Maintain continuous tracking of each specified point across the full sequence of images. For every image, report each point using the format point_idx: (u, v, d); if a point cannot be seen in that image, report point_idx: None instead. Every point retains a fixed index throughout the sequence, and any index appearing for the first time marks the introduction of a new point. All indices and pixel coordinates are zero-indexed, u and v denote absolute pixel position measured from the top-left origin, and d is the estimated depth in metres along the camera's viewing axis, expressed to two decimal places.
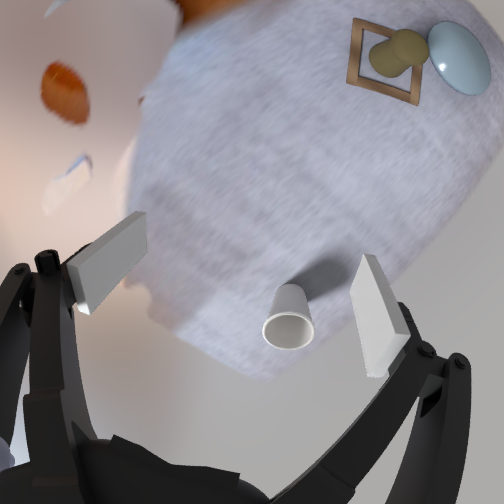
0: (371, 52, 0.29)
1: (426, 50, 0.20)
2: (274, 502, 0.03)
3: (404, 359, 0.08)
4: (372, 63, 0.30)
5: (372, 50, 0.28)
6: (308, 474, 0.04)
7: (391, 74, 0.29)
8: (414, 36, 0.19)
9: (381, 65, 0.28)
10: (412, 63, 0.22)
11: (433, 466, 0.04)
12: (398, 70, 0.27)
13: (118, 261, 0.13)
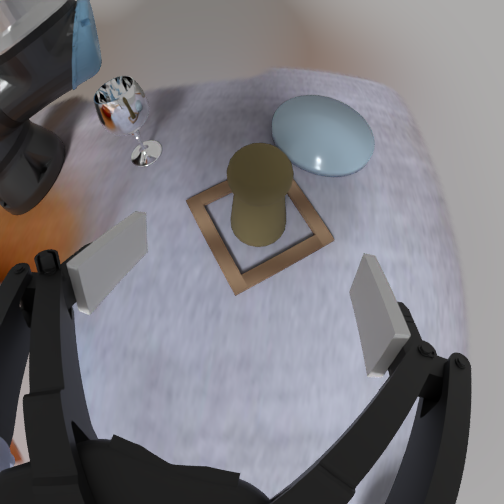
0: (233, 227, 0.28)
1: (281, 154, 0.20)
2: (274, 502, 0.03)
3: (404, 359, 0.08)
4: (245, 241, 0.28)
5: (232, 224, 0.28)
6: (308, 474, 0.04)
7: (275, 233, 0.27)
8: (251, 151, 0.19)
9: (253, 234, 0.26)
10: (280, 193, 0.20)
11: (433, 466, 0.04)
12: (277, 221, 0.25)
13: (118, 261, 0.13)
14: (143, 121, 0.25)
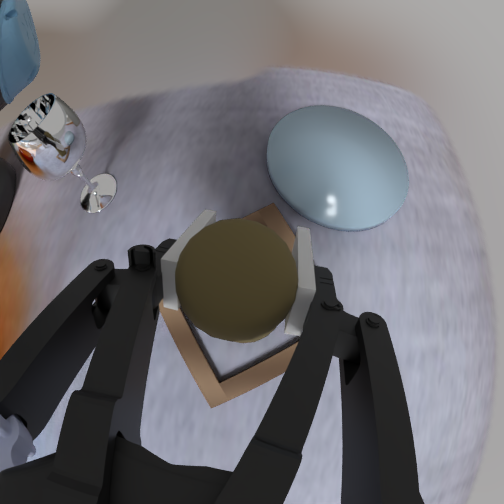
0: None
1: (275, 250, 0.10)
2: (225, 486, 0.04)
3: (309, 317, 0.09)
4: None
5: None
6: (246, 450, 0.05)
7: (267, 332, 0.18)
8: (216, 245, 0.10)
9: None
10: (271, 328, 0.10)
11: (374, 436, 0.05)
12: None
13: None
14: (76, 159, 0.16)
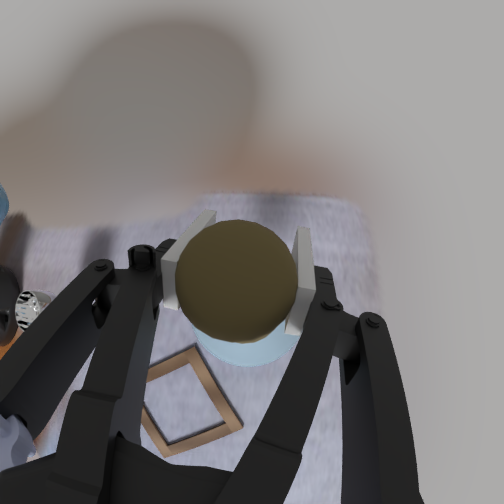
0: None
1: (275, 252, 0.10)
2: (225, 486, 0.04)
3: (309, 317, 0.09)
4: None
5: None
6: (246, 450, 0.05)
7: None
8: (215, 246, 0.10)
9: None
10: (271, 329, 0.10)
11: (374, 436, 0.05)
12: None
13: None
14: None
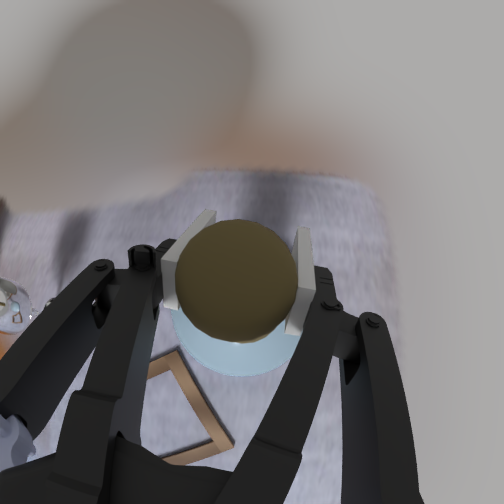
0: None
1: (275, 251, 0.10)
2: (226, 486, 0.04)
3: (309, 317, 0.09)
4: None
5: None
6: (246, 450, 0.05)
7: None
8: (215, 246, 0.10)
9: None
10: (271, 329, 0.10)
11: (375, 436, 0.05)
12: None
13: None
14: (27, 323, 0.19)
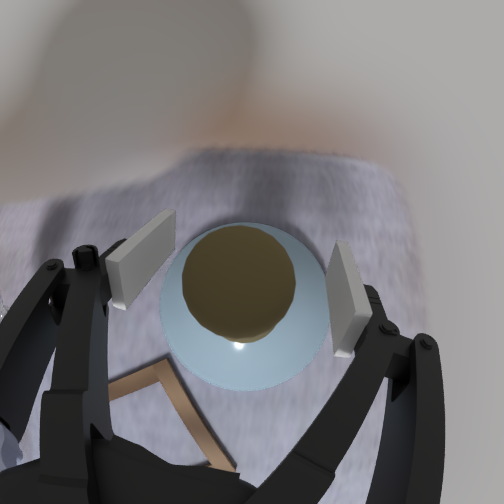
0: None
1: (274, 255, 0.11)
2: (254, 494, 0.04)
3: (366, 339, 0.09)
4: (224, 337, 0.20)
5: None
6: (283, 462, 0.04)
7: (266, 333, 0.19)
8: (220, 250, 0.11)
9: None
10: (271, 326, 0.11)
11: (411, 451, 0.05)
12: None
13: (151, 257, 0.14)
14: None
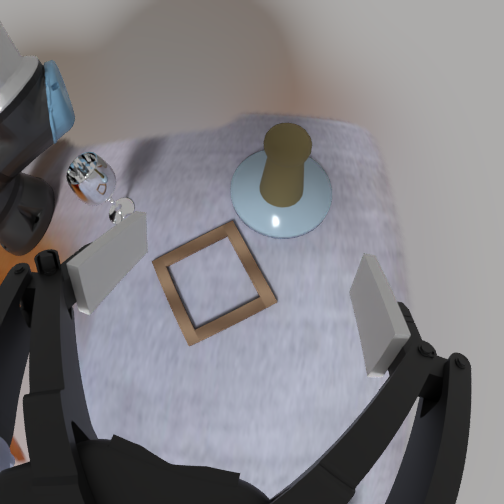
0: (262, 191, 0.35)
1: (303, 130, 0.26)
2: (274, 502, 0.03)
3: (404, 359, 0.08)
4: (271, 202, 0.35)
5: (261, 188, 0.35)
6: (308, 474, 0.04)
7: (296, 196, 0.34)
8: (282, 127, 0.26)
9: (279, 194, 0.33)
10: (303, 156, 0.26)
11: (433, 466, 0.04)
12: (298, 184, 0.32)
13: (118, 261, 0.13)
14: (111, 193, 0.30)
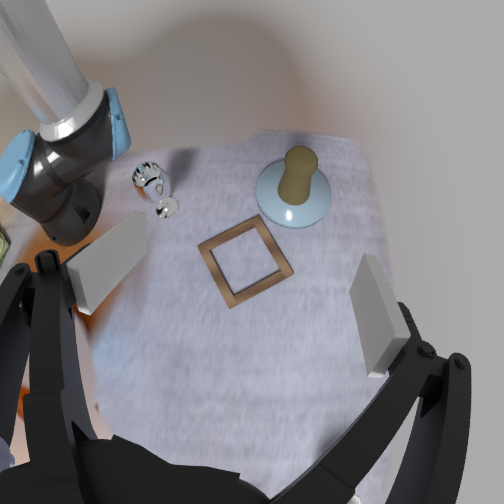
0: (280, 194, 0.47)
1: (312, 152, 0.39)
2: (274, 502, 0.03)
3: (404, 359, 0.08)
4: (287, 201, 0.47)
5: (279, 191, 0.47)
6: (308, 474, 0.04)
7: (305, 197, 0.46)
8: (297, 150, 0.39)
9: (293, 196, 0.45)
10: (312, 171, 0.39)
11: (433, 466, 0.04)
12: (307, 189, 0.44)
13: (118, 261, 0.13)
14: (167, 194, 0.42)
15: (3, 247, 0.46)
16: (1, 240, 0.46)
